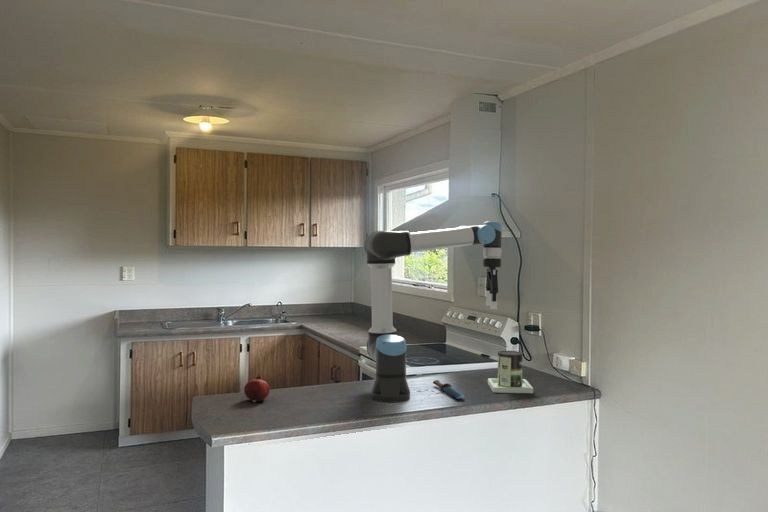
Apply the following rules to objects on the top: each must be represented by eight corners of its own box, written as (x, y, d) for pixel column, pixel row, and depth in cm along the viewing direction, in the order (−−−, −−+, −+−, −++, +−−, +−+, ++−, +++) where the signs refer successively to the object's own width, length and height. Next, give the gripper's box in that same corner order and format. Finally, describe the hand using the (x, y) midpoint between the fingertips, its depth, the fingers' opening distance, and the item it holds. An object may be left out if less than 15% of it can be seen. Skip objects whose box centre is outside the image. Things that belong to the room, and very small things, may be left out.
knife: (467, 392, 220) (455, 395, 218) (468, 400, 220) (456, 403, 219) (441, 376, 243) (430, 379, 241) (442, 383, 243) (431, 386, 242)
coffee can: (521, 384, 244) (522, 351, 244) (522, 390, 234) (523, 355, 234) (497, 382, 246) (497, 349, 246) (496, 388, 236) (497, 354, 236)
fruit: (249, 405, 210) (249, 378, 210) (240, 399, 218) (241, 373, 218) (273, 402, 215) (273, 375, 215) (264, 396, 223) (264, 370, 223)
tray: (493, 392, 233) (493, 387, 232) (487, 382, 248) (487, 378, 248) (533, 393, 232) (533, 388, 232) (525, 383, 248) (525, 379, 248)
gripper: (505, 258, 234) (505, 310, 234) (496, 257, 259) (496, 304, 259) (487, 258, 234) (486, 310, 235) (479, 257, 259) (479, 304, 259)
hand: (491, 307), depth 247 cm, fingers open, 13 cm apart
